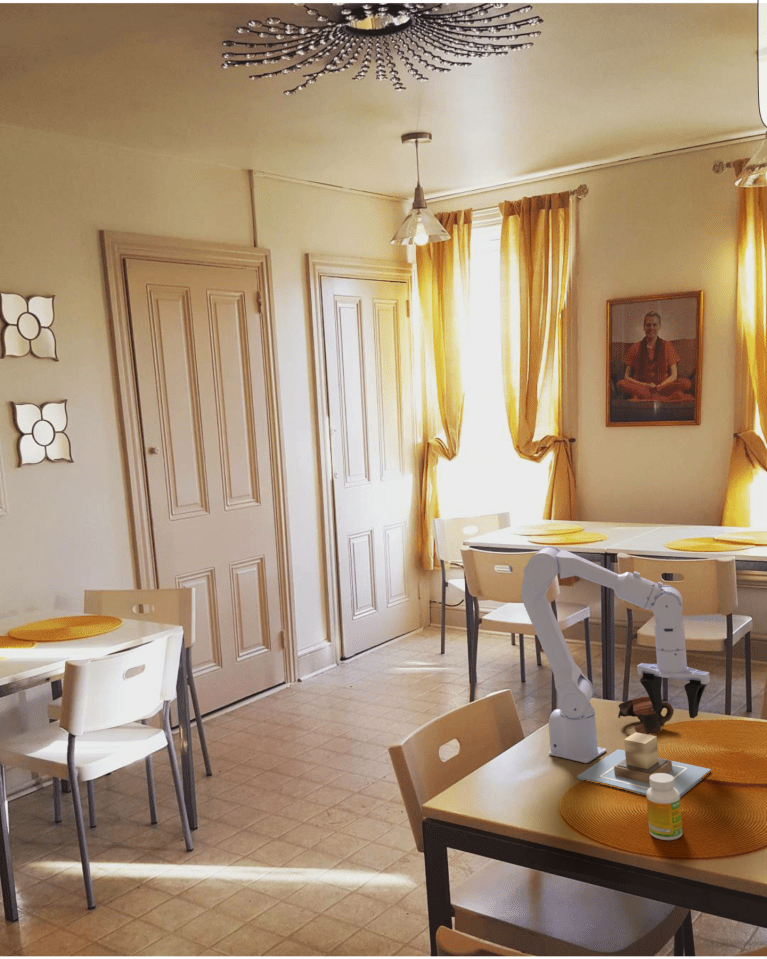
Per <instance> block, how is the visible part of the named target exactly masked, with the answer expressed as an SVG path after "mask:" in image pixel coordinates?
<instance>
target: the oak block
mask: <svg viewBox="0 0 767 959" xmlns="http://www.w3.org/2000/svg"><path fill="white" fill-rule="evenodd" d="M624 750H625V756H626V764H627V765H631V766H635V767H640V768H644V769H649V768H650V767H651V766H653V765H654V764H656V763H657V762H658V761H659V760H658V758H659V750H658V737H657V735H653V734H642V733H637V732H636V731H635V732H634V733H632V734H630V735H629V736H627V737H626V738H624Z"/></svg>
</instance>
